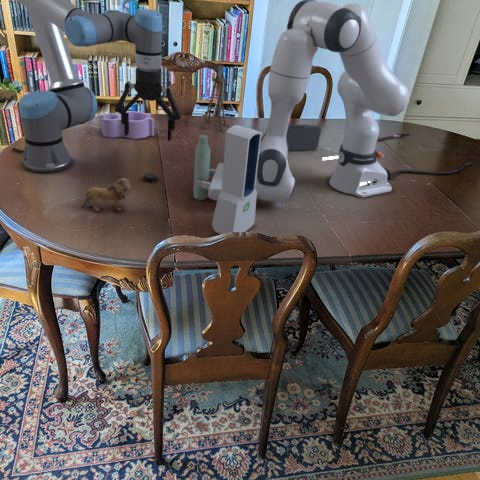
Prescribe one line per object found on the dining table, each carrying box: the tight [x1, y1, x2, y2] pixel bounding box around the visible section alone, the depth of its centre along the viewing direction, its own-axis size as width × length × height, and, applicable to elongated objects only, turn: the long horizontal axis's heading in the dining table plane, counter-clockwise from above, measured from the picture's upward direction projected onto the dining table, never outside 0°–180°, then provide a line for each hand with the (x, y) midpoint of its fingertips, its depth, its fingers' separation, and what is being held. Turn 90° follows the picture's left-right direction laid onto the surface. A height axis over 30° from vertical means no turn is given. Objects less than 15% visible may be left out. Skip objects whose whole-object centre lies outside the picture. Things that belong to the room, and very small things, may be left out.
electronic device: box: [211, 124, 263, 235], centre depth 127 cm, size 12×8×30 cm, turn 148°
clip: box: [100, 110, 155, 140], centre depth 188 cm, size 20×12×7 cm, turn 109°
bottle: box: [192, 134, 211, 201], centre depth 145 cm, size 5×5×20 cm
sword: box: [377, 133, 409, 142], centre depth 213 cm, size 31×3×1 cm, turn 126°
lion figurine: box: [80, 177, 132, 212], centre depth 136 cm, size 15×5×9 cm, turn 110°
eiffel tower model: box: [202, 55, 226, 132], centre depth 198 cm, size 9×8×30 cm
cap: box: [143, 172, 157, 183], centre depth 157 cm, size 4×4×2 cm
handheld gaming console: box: [287, 124, 322, 152], centre depth 189 cm, size 23×3×10 cm, turn 108°
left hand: (148, 136), depth 149 cm, fingers open, 13 cm apart
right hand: (198, 177), depth 147 cm, fingers open, 6 cm apart
